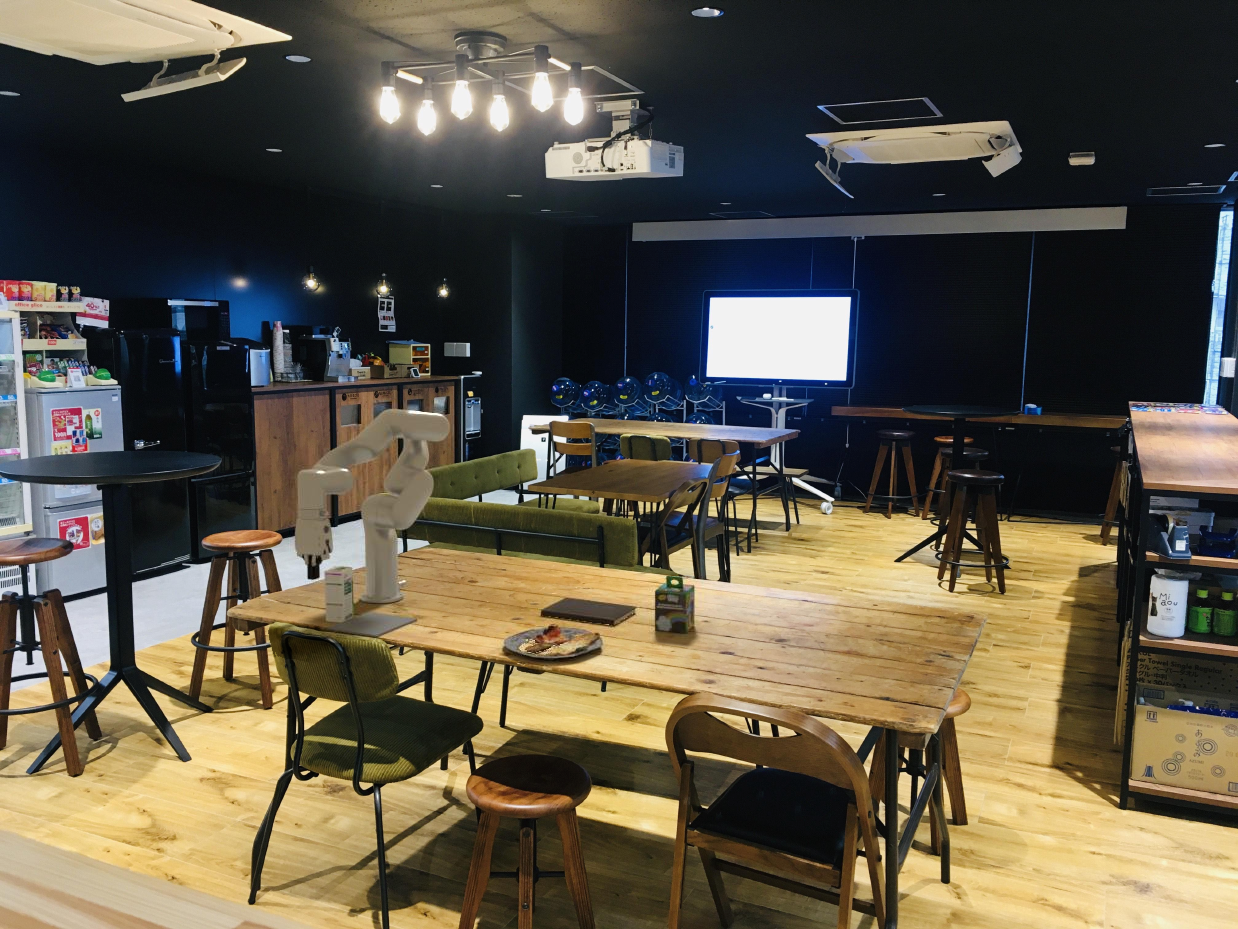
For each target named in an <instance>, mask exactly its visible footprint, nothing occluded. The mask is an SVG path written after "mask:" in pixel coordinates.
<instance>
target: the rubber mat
mask: <svg viewBox="0 0 1238 929" xmlns="http://www.w3.org/2000/svg"><path fill="white" fill-rule="evenodd" d="M415 622H418V618H415V617H410V616H409V617H407V616H402V615H395V614H389V613H382V612H381V613H380V612H374V611H369V612H366V613H364V614H361V615H358V616H354V617H353V618H351V619H350V620H347V621H344V622H341V623H339V622H338V623H336V624H334V625H331V626H329V627H327V630H330V631H335V632H341V633H347V634H355V635H362V636H366V637H373V638H379V637H380V636H382V635H385V634H388V633H391V632H392V631H395V630H398V629H400V628H403V627H405V626H407V625H409V624H412V623H415Z"/></svg>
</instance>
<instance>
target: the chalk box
mask: <svg viewBox="0 0 1238 929" xmlns="http://www.w3.org/2000/svg"><path fill="white" fill-rule="evenodd" d="M665 581H666V582H664V583H663V584H662V585H659V586H658V588H657V589H655V590H654V631H659V632H668V633H669V632H670V633H676V634H683V635H686V634H688V632H689V631H690V630H691V629H692V628H693V627H694V626H695V600H696V599H695V591H696V590H695V585H694V584H687V583H686V584H684V578H683V577H682V576H677V575H676V576H675V575H673V576H672V575H666V577H665ZM672 581H677V582H678V583H672Z"/></svg>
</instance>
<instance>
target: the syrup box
mask: <svg viewBox="0 0 1238 929" xmlns="http://www.w3.org/2000/svg"><path fill="white" fill-rule="evenodd" d="M353 570H354V569H353V567H350V566H344V565H343V566H333V567H332V568H329V569H326V570H324V571H323V573H324V574H323V575H324V599H325V600H324V601H325V603H324V604H325V621H326V622H329V623H338V624H339V623H341V622H344V621H347V620H350V619H352V618H355V611H354V608H355V604H354V572H353Z"/></svg>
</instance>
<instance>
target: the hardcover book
mask: <svg viewBox="0 0 1238 929" xmlns="http://www.w3.org/2000/svg"><path fill="white" fill-rule="evenodd" d="M637 608H638V607H637V606H633V605H626V604H625V605H624V604H620V603H619V604H617V603H610V602H601V601H597V600H596V601H595V600H589V599H588V600H587V599H580V598H573V597H572V598H571V597H565V598H563V599H561V600H559V601H556V602H553V603H552V604H550V605H547V606H545V607H544V608H542V609H540V616H541V615H543V616H542V617H545V616H551V617H550V618H552V617H558V618H557V619H559V618H564V619H563V620H566V619H571V620H570V621H573V620H579V621H578V622H581V621H586V622H585V623H588V622H592V623H591V624H595V623H601V624H600V625H602V624H609V625H614V624H616V623H617V624H619V623H620V622H619V621H621V620H622V621H624V620H625V619H624V618H626V617H627V616H629V615H631V614H632V613H634V612H635V613H636V609H637ZM635 613H634V614H635ZM632 615H633V614H632ZM632 615H631V616H632ZM629 617H630V616H629ZM627 618H628V617H627ZM627 618H626V619H627ZM623 619H624V620H623ZM622 621H621V622H622ZM618 622H619V623H618ZM617 624H616V625H617ZM609 625H608V626H609ZM614 626H615V625H614Z"/></svg>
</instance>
